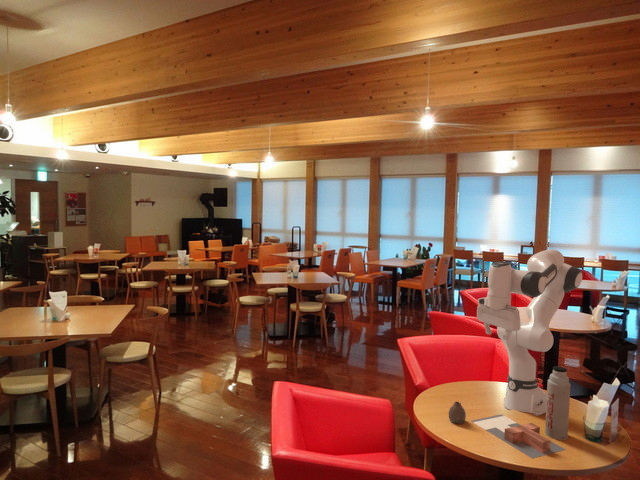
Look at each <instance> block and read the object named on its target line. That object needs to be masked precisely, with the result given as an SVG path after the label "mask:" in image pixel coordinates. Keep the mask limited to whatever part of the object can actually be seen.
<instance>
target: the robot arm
mask: <svg viewBox="0 0 640 480" xmlns="http://www.w3.org/2000/svg"><path fill="white" fill-rule="evenodd" d="M526 264H527V265H526V266H527V270H523V269H522V270H521V269H515V268H513V267H512V265H511V263H510V262H507V261H494V262H492V263H490V266H489V268H488V269H489V270H488V275H487V287H488V290H487V295H486V297H480V298H477V303H478V305H477V307H476V308H477V309H476V318H477V320H478V321H479V322H482V323H483V327H484V329H485V334H487V335H492V329H491V327H490V326H491V325H492V326H495V327H496V332H497V333H496V334H497V336H498V338H499V339H500V340H501V341H502V343H503V345H504V347H505V349H506V351H507V355H508V374H507V384H506V391H505V396H504V397H503V406H504V407H505V409H507V410H509V411H512V410H513V411H516V412H521V413H530V414H532V415H534V416H536V417H537V416H538V417H540V416H541V415H543V414H546V410H547V391H546V392H545V390H543V389H542V388H541V387H540V386H539V384H540V385H541V384H542V383H543V379H541V378H539V377H538V378H536V375H537V374H536V373H537V362H536V359H535V358H534V357H533V356H532V355H531V353H530V352H529V351H528V350H530V351H534V352H543V353H545V352H548V351H549V350H550V349H551V348H552V347H553V345H554V335H553V333H552V331H551V330H550V323H551V321H552V320H553V317H554V316H555V314H556V312H557V311H558V310H559V308H560V306H561V304H562V302H563V299H564V297H565V293H570V292H571V291H574V290H576V289H577V288H579V286H580V285H581V284H582V282H583V277H584V274H583V271H582V270H581V269H580V268H578V267H577V266H574V265H570V264H568V263H565V258H564V255H563V254H562V253H561V251H560V250H558V249H546V250H541V251H539V252H536V253H535V254H533V255H531V256H530V257H529V258H528V260H527V263H526ZM512 294H517V295H523V296H527V297H530V298H532V299H531V300H530V302H529V304H528V305H527V306H526V309H525V311H526V312H525V313H526V315H527V318H529V321H528V322H523V321H521V315H520V311H519V309H518V308H517V306H513V305H511V304H512V303H511V302H512Z"/></svg>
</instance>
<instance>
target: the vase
mask: <svg viewBox="0 0 640 480" xmlns="http://www.w3.org/2000/svg"><path fill="white" fill-rule="evenodd" d="M448 419H449V420H448V421H450V423H452V424H455V425H462V424H464V423H465V421H466V419H467V414H466V410H465V408H464V407H463V406H462V404H461V402H460V401H454V403H453V404H452V405H451V406H450V407H449V409H448Z"/></svg>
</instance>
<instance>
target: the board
mask: <svg viewBox="0 0 640 480" xmlns="http://www.w3.org/2000/svg"><path fill="white" fill-rule="evenodd" d="M471 423H473V424H475V425H476V426H478V427H480V428H481V429H483V430H485V431H486V432H488V433H489V434H491V435H493V436H494V437H496V438H497V439H500V440H501V441H502V442H504V443H506V444H508V445H510V446H511V447H512V448H514V449H516V450H517V451H519V452H521V453H523V454H524V455H526V456H527V457H529V458H531V459H537V458H539V457H544V456H547V455H551V454H555V453H559V452H562V451H566V448H564V447H562V446H561V445H558V444H557V443H555V442H553V441H550V451H548V452H544V453H541V452H540V451H538V450H536V449H534V448H533V447H531V446H529V445H528V444H526V443H524V442H518V443H514V444H512V443H510V442H509V441H507V440H505V439H504V436H505V429H506V428H511V427H515V426H520V425H521V424H520V423H518V422H516V421H514V420H512V419H510V418H509V417H507V416H505V415H503V414H497V415H493V416H487V417H486V416H485V417H481V418H478V419H473V420H471Z"/></svg>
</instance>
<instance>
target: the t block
mask: <svg viewBox="0 0 640 480" xmlns="http://www.w3.org/2000/svg"><path fill="white" fill-rule="evenodd" d="M540 430H541V427H540V426H538V425H536V424H534V423H532V422H528V423H525V424H520V426H515V427H511V428H506V429H505V436H504V439H505V440H507V441H509V442H510V443H512V444H514V443H518V442H524V443H526V444H528V445H529V446H531V447H533V448H534V449H536V450H538V451H540V452H541V453H544V452H548V451H550V441H551V439H549V438H547V437H545V436H544V435H542V434H540V433H541V431H540ZM551 442H552V441H551Z"/></svg>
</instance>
